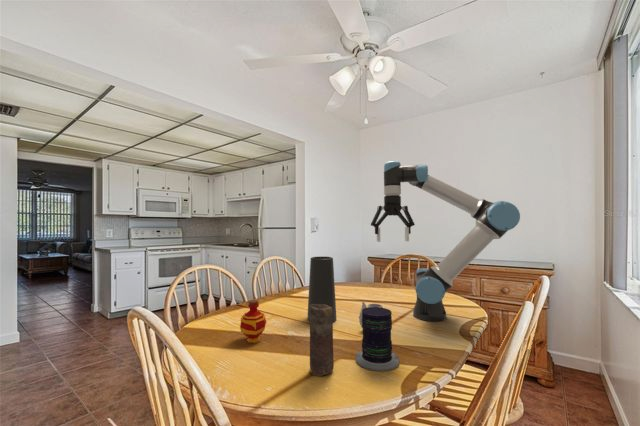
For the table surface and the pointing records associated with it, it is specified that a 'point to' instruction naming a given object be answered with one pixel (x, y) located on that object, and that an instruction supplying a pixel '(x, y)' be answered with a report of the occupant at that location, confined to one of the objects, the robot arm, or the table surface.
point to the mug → (367, 307)
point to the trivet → (376, 366)
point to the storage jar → (377, 335)
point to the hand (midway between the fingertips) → (392, 241)
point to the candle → (321, 339)
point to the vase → (322, 284)
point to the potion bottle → (253, 322)
